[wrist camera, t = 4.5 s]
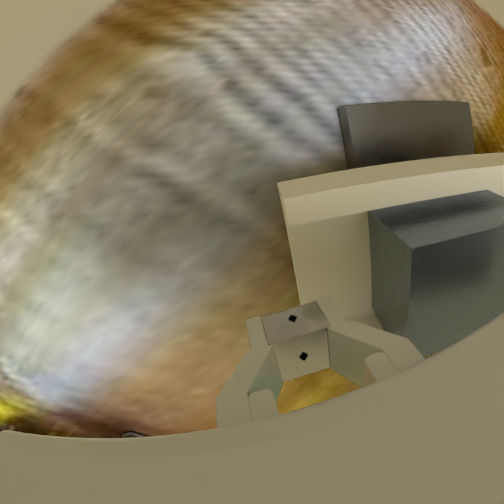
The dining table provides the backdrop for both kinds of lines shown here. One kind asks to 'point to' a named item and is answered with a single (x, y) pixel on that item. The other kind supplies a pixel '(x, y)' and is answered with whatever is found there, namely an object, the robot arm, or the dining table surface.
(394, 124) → the pivot stand
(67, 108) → the dining table surface
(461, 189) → the beam
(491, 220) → the block
